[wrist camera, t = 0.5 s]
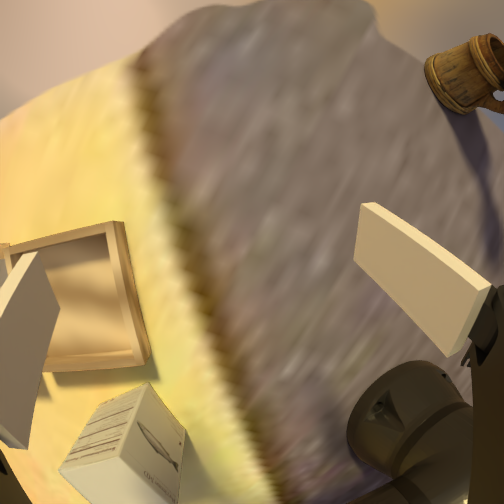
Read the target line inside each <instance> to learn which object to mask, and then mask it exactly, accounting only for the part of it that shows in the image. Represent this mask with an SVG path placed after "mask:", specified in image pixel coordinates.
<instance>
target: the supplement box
mask: <svg viewBox="0 0 504 504" xmlns="http://www.w3.org/2000/svg"><path fill="white" fill-rule="evenodd" d="M185 433H186V430H185V429H184V428H183V427H182V425H181V424H180V423H179V422H178V421H177V420H176V419H175V417H174V416H173V415H172V414H171V413H170V411H169V410H168V409H167V407H166V406H165V405H164V403H163V402H162V401H161V399H160V398H159V397H158V395H157V394H156V392H155V391H154V390H153V388H152V386H151V385H150V383H149V382H147V383H145V384H143V385H141V386H139V387H137V388H134V389H132V390H130V391H128V392H125V393H123V394H121V395H119V396H116V397H114V398H112V399H109V400H107V401H105V402H103V403H101V404H100V405H99V406H98V408H97V409H96V411H95V412H94V414H93V415H92V416H91V418H90V420H89V421H88V423H87V424H86V426H85V428H84V429H83V431H82V432H81V434H80V436H79V437H78V439H77V441H76V442H75V444H74V445H73V447H72V449H71V450H70V452H69V454H68V455H67V457H66V459H65V460H64V462H63V463H62V465H61V466H60V468H59V469H58V472H59V473H60V475H62V476H63V478H64V479H65V480H67V481H68V482H69V483H70V484H71V485H72V486H73V487H74V488H75V489H76V490H77V491H78V492H79V493H80V494H81V495H82V496H83V497H84V498H86V500H88V501H89V502H90V503H91V504H178V495H179V485H180V475H181V466H182V458H183V449H184V441H185Z"/></svg>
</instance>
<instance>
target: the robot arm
mask: <svg viewBox="0 0 504 504" xmlns="http://www.w3.org/2000/svg"><path fill="white" fill-rule="evenodd" d="M353 260H354V261H355V262H356V263H357V264H358V265H359V266H360V267H361V268H362V269H363V270H364V271H365V272H366V273H367V274H368V275H369V276H370V277H371V278H372V279H373V280H374V281H375V282H376V283H377V284H378V285H379V286H380V287H381V288H382V289H383V290H384V291H385V292H386V293H387V294H388V295H389V296H390V297H391V298H392V299H393V300H394V301H395V302H396V303H397V304H398V305H399V306H400V307H401V308H402V309H403V310H404V311H405V312H406V313H407V315H408V316H409V317H410V318H411V319H412V320H413V321H414V322H415V323H416V324H417V325H418V326H419V327H420V328H421V329H422V330H423V332H424V333H425V334H426V335H427V336H428V337H429V338H430V339H431V340H432V341H433V342H434V344H435V345H436V346H437V347H438V348H439V349H440V350H441V351H442V352H443V354H444V355H445V356H446V357H447V358H448V357H449V356H451V355H453V354H455V353H457V352H458V351H460V350H461V349H462V347H463V345H464V343H465V341H466V339H467V337H469V338H470V339H471V340H472V343H471V345H470V347H469V349H468V350H467V352H466V354H465V356H464V357H463V359H462V361H461V366H464V364H465V362H466V361H467V359H469V358H470V361H469V363H468V365H467V367H471V376H472V393H473V407H472V406H470V405H469V404H467V403H466V402H465V401H464V400H463V398H462V396H461V395H460V393H459V391H458V390H457V388H456V387H455V385H454V384H453V383H452V381H451V379H450V377H449V376H448V374H447V373H446V372H445V371H444V370H442V369H441V368H439V367H437V366H436V365H434V364H432V363H430V362H428V361H422V360H416V361H410V362H406V363H404V364H401V365H399V366H397V367H395V368H393V369H391V370H389V371H388V372H386V373H385V374H384V375H382V376H381V377H380V378H378V379H377V380H376V381H375V382H374V383H373V384H372V385H371V386H370V387H369V388H368V389H367V390H366V391H365V393H364V394H363V395H362V396H361V398H360V399H359V401H358V402H357V404H356V406H355V407H354V409H353V411H352V414H351V416H350V419H349V422H348V427H347V438H348V442H349V444H350V446H351V448H352V449H353V451H354V452H355V454H356V455H357V457H358V458H359V459H360V460H361V461H363V462H364V463H366V464H368V465H370V466H372V467H373V468H375V469H377V470H378V471H380V472H382V473H384V474H386V475H388V476H390V477H391V478H392V479H393V480H392V481H391V482H389V483H387V484H385V485H383V486H381V487H379V488H377V489H375V490H373V491H371V492H369V493H367V494H365V495H363V496H361V497H359V498H357V499H355V500H353V501H351V502H348V503H346V504H504V285H501V286H499V287H498V289H496V288H495V287H494V286H493V285H491V284H490V283H489V282H488V281H486V280H485V279H484V278H483V277H481V276H480V275H479V274H478V273H476V272H475V271H474V270H472V269H471V268H470V267H469V266H467V265H466V264H465V263H463V262H462V261H461V260H459V259H458V258H457V257H455V256H454V255H453V254H451V253H450V252H448V251H447V250H446V249H444V248H443V247H441V246H440V245H439V244H437V243H436V242H434V241H433V240H432V239H430V238H429V237H427V236H426V235H424V234H423V233H421V232H420V231H418V230H417V229H416V228H414V227H413V226H411V225H410V224H408V223H407V222H405V221H403V220H402V219H400V218H399V217H397V216H396V215H394V214H393V213H391V212H390V211H388V210H386V209H385V208H383V207H382V206H380V205H378V204H377V203H375V202H373V203H363V204H361V207H360V215H359V223H358V231H357V238H356V245H355V252H354V258H353ZM59 312H60V306H59V304H58V302H57V299H56V297H55V295H54V292H53V290H52V287H51V285H50V282H49V280H48V277H47V275H46V272H45V269H44V267H43V264H42V261H41V258H40V256H39V253H38V251H37V252H32V253H27V254H23V255H22V256H21V258H20V259H19V261H18V262H17V264H16V265H15V267H14V268H13V270H12V271H11V273H10V274H9V276H8V278H7V279H6V281H5V282H4V284H3V286H2V287H1V289H0V440H1V441H2V442H4V443H5V444H6V445H7V446H8V447H9V448H17V449H26V450H28V445H29V437H30V431H31V424H32V418H33V413H34V407H35V402H36V397H37V392H38V388H39V383H40V379H41V375H42V371H43V367H44V363H45V359H46V355H47V352H48V348H49V344H50V341H51V338H52V334H53V331H54V328H55V324H56V321H57V318H58V315H59ZM0 504H32V502H31V501H30V499H29V498H28V496H27V495H26V493H25V491H24V490H23V488H22V487H21V485H20V483H19V482H18V480H17V478H16V476H15V475H14V473H13V471H12V469H11V467H10V466H9V464H8V462H7V460H6V458H5V456H4V454H3V452H2V451H1V450H0Z"/></svg>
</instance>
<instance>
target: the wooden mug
mask: <svg viewBox="0 0 504 504" xmlns="http://www.w3.org/2000/svg"><path fill="white" fill-rule="evenodd" d="M424 71H425V75H426V78H427V81H428V83H429V85H430V87H431V89H432V90H433V92H434V93H435V95H436V96H437V98H438V99H439V100H440V101H441V102H442V103H443V105H444V106H445V107H447V108H449V109H450V110H452V111H453V112H456V113H459V114H463V115H466V114H468V113H469V112H471V111H473V110H475V109H476V108H477V107H483V108H487V109H489V110H491V111H494V112H497V113H501V114H504V100H503V101H498V100H496V99H495V98H494V96H493V92H495V91H496V90H499V91H504V43H503V42H502V41H501V40H500V39H499V38H498V37H497V36H495V35H493V34H491V33H489V34H486V35H479V36H475V37H472V38H471V39H470V41H468V42H466V43H464V44H462V45H459V46H457V47H454V48H452V49H450V50H447V51H445V52H443V53H437V54H435V55H432V56H430V57H429V58H427V60H426V62H425V66H424Z"/></svg>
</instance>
